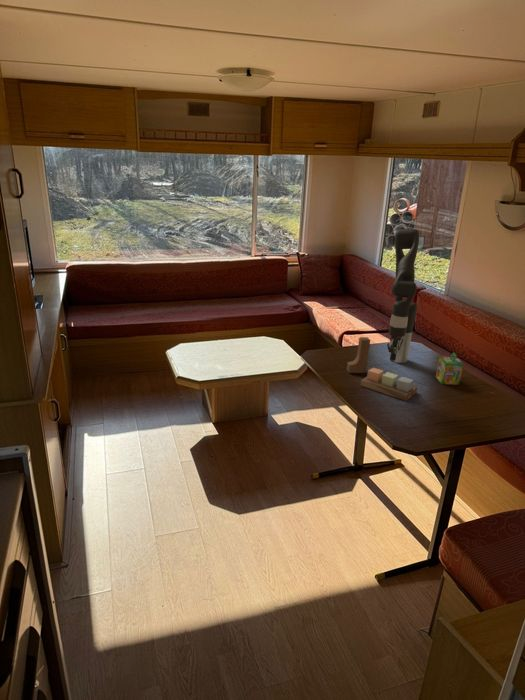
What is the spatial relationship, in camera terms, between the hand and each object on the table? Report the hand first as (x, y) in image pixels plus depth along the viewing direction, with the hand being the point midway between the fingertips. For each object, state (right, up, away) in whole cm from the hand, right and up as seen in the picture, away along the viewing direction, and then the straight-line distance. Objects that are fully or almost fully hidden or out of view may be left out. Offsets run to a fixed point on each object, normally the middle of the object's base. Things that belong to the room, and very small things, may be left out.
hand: (392, 360), depth 231 cm
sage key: (-1, -12, +4) cm, 13 cm away
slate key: (+5, -14, 0) cm, 15 cm away
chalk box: (+32, -11, +19) cm, 39 cm away
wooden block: (-13, -6, +23) cm, 27 cm away
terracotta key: (-6, -10, +9) cm, 15 cm away
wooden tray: (-1, -14, +5) cm, 15 cm away
